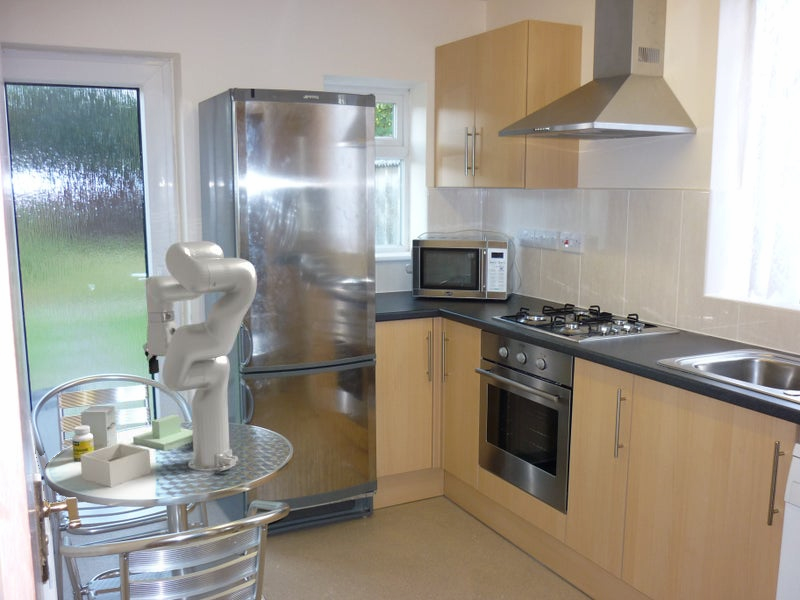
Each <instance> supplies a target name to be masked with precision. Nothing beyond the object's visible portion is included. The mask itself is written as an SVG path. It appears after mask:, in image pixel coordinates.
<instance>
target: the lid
mask: <svg viewBox="0 0 800 600" xmlns="http://www.w3.org/2000/svg"><path fill="white" fill-rule="evenodd" d="M151 429H152V430H151V431H148V432H144V433H142V434H138V435H134V436H133V438H132V440H133V441H132V442H133V444H135V445H139V446H142V447H148V448H150V449H155V450H157V451H158V450H159V451H162V452H167V451H168V452H169V451H170V450H174V449H177V448H179V447H182V445H183V446H186V445H189V444H191V443H190V442H192V443H193V430H192V429H188V428H183V427H182V419H181V415H178V414H170V415H167V416H163V417H160V418H157V419H153V420H151ZM188 443H189V444H188ZM185 444H186V445H185Z"/></svg>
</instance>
